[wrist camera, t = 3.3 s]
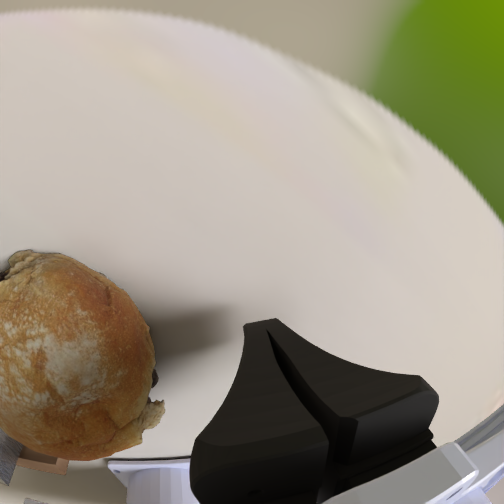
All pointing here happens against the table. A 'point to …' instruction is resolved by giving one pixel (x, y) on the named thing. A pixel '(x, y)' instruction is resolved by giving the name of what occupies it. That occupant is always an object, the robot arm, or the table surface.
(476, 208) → the table surface
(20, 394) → the bread roll
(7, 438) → the pusher plate
